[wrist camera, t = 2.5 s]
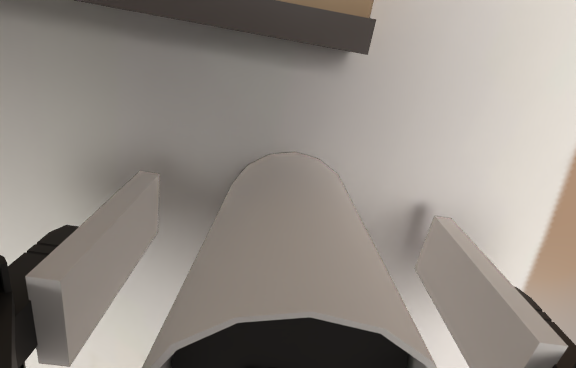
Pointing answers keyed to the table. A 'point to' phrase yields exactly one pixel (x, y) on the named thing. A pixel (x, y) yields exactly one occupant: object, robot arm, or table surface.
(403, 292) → the table surface
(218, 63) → the table surface
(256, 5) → the wooden wall shelf
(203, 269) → the white paper cup
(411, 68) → the table surface
